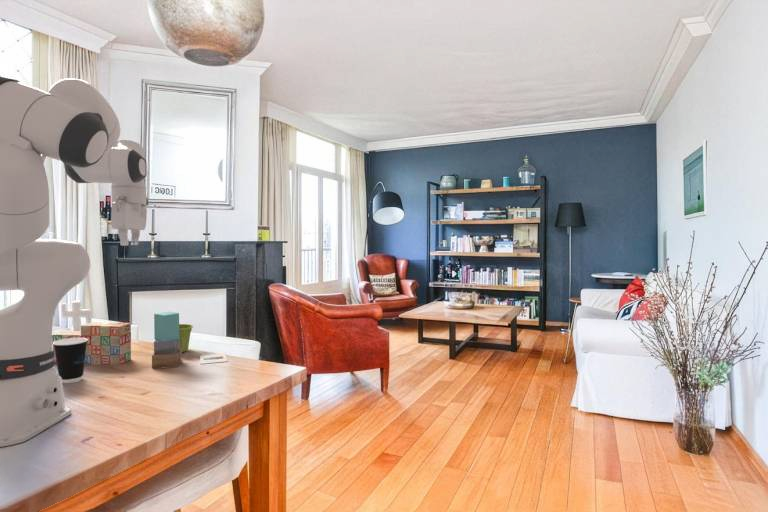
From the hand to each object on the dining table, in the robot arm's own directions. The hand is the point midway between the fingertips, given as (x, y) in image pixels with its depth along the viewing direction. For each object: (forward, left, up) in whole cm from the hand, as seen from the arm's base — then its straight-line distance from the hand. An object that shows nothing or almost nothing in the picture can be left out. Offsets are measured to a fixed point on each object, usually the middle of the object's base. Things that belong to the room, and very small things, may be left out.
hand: (129, 245), depth 132 cm
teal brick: (+4, -9, -29) cm, 31 cm away
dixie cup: (-7, +13, -37) cm, 40 cm away
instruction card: (+8, -22, -37) cm, 44 cm away
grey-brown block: (+4, -9, -37) cm, 38 cm away
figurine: (+47, +32, -37) cm, 68 cm away
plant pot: (+21, -9, -37) cm, 44 cm away
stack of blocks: (+13, +15, -38) cm, 42 cm away
